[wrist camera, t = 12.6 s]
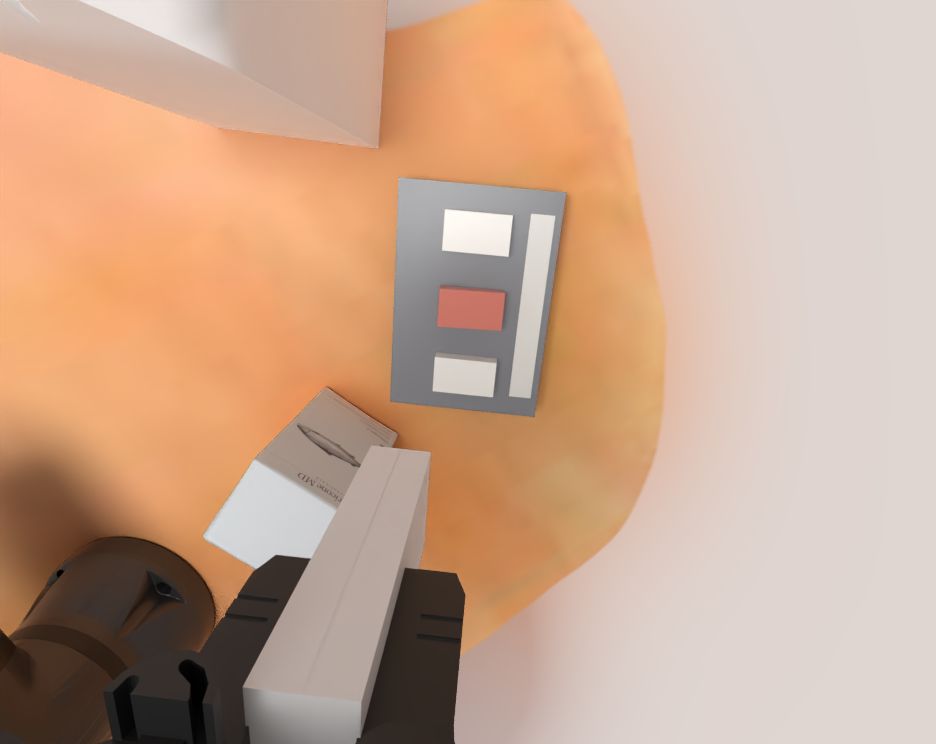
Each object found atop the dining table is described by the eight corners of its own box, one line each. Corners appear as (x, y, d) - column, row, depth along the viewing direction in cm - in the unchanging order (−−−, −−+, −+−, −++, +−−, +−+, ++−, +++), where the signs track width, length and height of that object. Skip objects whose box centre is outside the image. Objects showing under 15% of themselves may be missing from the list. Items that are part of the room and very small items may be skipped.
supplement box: (401, 432, 42) (361, 525, 30) (355, 493, 44) (300, 602, 32) (326, 381, 41) (252, 456, 29) (282, 446, 43) (197, 541, 31)
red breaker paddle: (498, 326, 36) (501, 330, 34) (437, 322, 35) (437, 326, 34) (503, 290, 35) (505, 293, 34) (439, 285, 34) (439, 288, 33)
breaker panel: (532, 404, 40) (535, 423, 37) (396, 390, 40) (386, 407, 37) (562, 193, 35) (568, 192, 31) (405, 178, 35) (395, 176, 32)
